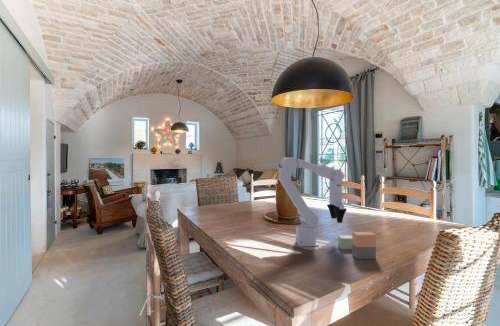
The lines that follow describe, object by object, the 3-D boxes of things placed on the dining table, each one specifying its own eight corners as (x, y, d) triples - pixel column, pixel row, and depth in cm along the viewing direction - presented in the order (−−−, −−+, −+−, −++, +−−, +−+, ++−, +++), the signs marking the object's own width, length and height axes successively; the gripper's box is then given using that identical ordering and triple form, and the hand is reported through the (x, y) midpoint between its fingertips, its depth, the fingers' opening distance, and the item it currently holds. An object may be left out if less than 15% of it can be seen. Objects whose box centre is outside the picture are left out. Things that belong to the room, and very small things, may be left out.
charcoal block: (356, 259, 102) (356, 247, 101) (352, 255, 106) (352, 243, 105) (375, 258, 102) (375, 246, 102) (370, 254, 106) (370, 243, 106)
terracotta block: (356, 247, 101) (356, 235, 101) (352, 243, 105) (352, 232, 105) (375, 246, 102) (375, 234, 102) (370, 243, 106) (370, 231, 106)
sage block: (341, 249, 113) (341, 238, 112) (338, 246, 117) (338, 235, 116) (358, 249, 113) (358, 238, 113) (354, 245, 117) (354, 235, 117)
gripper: (350, 195, 115) (351, 224, 115) (338, 190, 129) (338, 216, 130) (335, 196, 114) (336, 224, 115) (324, 191, 129) (325, 217, 129)
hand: (336, 220), depth 122 cm, fingers open, 7 cm apart
